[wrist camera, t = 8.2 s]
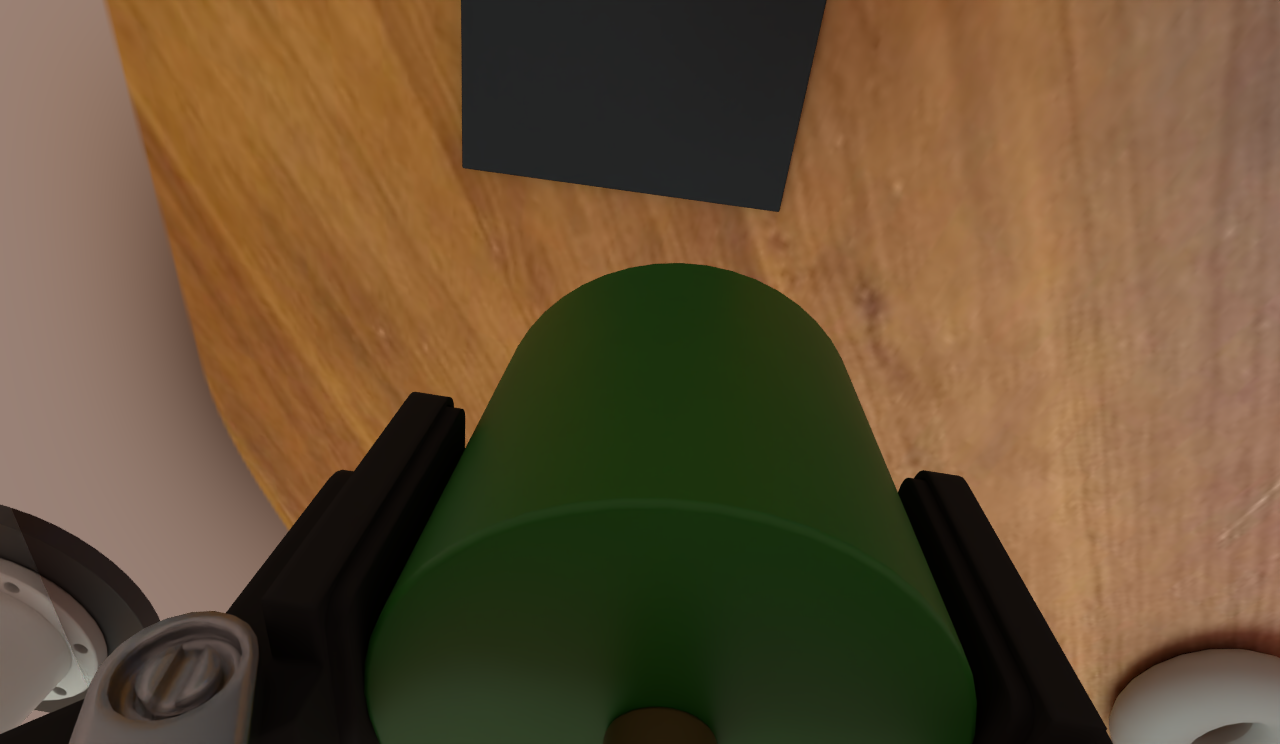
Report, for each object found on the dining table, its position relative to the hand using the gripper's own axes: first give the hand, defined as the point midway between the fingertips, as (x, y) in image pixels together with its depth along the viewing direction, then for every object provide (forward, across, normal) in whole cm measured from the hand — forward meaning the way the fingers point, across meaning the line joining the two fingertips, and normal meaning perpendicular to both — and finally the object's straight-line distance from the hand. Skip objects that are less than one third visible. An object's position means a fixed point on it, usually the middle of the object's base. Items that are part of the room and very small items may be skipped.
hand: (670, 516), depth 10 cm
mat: (+18, +3, -7) cm, 19 cm away
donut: (+18, -32, +22) cm, 43 cm away
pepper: (+2, 0, 0) cm, 2 cm away
